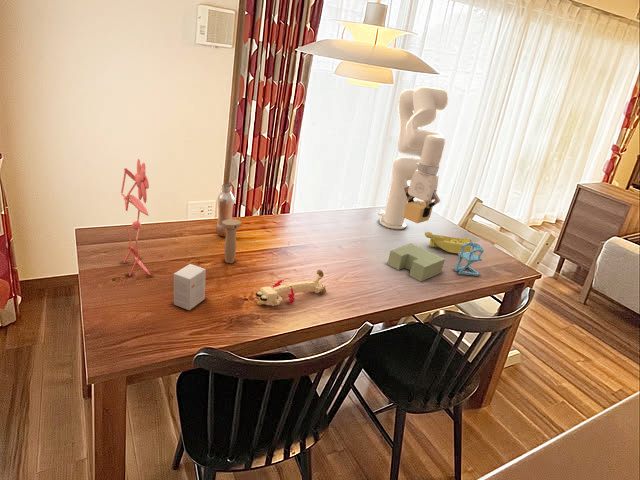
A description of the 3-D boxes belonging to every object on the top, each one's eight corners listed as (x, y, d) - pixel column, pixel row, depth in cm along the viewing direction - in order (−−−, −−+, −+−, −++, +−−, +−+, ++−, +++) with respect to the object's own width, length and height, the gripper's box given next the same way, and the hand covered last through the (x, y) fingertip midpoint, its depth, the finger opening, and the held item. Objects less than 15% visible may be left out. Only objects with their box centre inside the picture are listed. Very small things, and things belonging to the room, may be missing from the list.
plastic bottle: (236, 235, 189) (239, 186, 179) (224, 239, 184) (227, 189, 174) (224, 230, 192) (226, 181, 182) (212, 234, 186) (214, 184, 177)
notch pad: (387, 264, 185) (390, 250, 183) (407, 256, 195) (411, 243, 192) (421, 281, 176) (425, 267, 174) (441, 272, 186) (445, 258, 183)
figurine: (131, 289, 143) (125, 175, 127) (116, 252, 162) (109, 149, 145) (182, 282, 151) (183, 174, 134) (162, 248, 170) (160, 149, 153)
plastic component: (460, 238, 215) (473, 238, 205) (458, 255, 215) (470, 255, 206) (420, 232, 210) (431, 231, 200) (418, 249, 210) (429, 249, 201)
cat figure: (310, 286, 163) (247, 296, 148) (315, 263, 160) (251, 271, 144) (328, 300, 157) (264, 312, 141) (334, 276, 153) (269, 286, 137)
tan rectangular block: (402, 217, 190) (406, 203, 187) (418, 213, 197) (422, 199, 194) (417, 223, 186) (421, 208, 183) (433, 218, 193) (436, 204, 190)
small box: (189, 293, 146) (190, 263, 141) (205, 299, 144) (206, 268, 139) (173, 305, 139) (172, 273, 134) (189, 311, 138) (189, 279, 133)
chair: (450, 267, 191) (459, 240, 185) (467, 267, 194) (476, 240, 189) (462, 277, 185) (471, 249, 179) (479, 276, 188) (488, 248, 182)
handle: (240, 262, 169) (243, 223, 161) (224, 266, 165) (227, 226, 158) (233, 257, 172) (236, 218, 165) (217, 260, 168) (219, 220, 161)
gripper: (404, 163, 183) (394, 207, 192) (442, 176, 173) (430, 222, 182) (414, 162, 188) (404, 205, 197) (453, 174, 178) (440, 219, 187)
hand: (417, 213), depth 189 cm, fingers closed on tan rectangular block, 7 cm apart
